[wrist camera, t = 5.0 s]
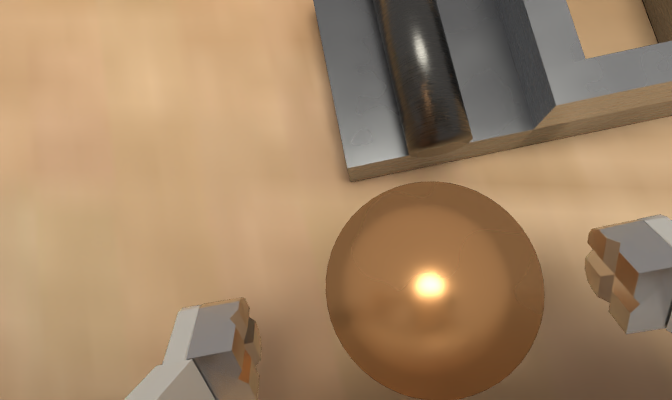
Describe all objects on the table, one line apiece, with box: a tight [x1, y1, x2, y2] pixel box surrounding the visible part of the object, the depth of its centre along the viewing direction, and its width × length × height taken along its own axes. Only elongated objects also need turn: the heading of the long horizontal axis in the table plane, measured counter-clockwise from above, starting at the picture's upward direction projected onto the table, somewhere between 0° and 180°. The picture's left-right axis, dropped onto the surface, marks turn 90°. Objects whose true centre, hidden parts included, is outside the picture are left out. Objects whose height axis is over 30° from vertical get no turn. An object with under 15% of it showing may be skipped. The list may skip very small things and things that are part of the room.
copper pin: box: [326, 182, 544, 400], centre depth 12 cm, size 3×3×10 cm
